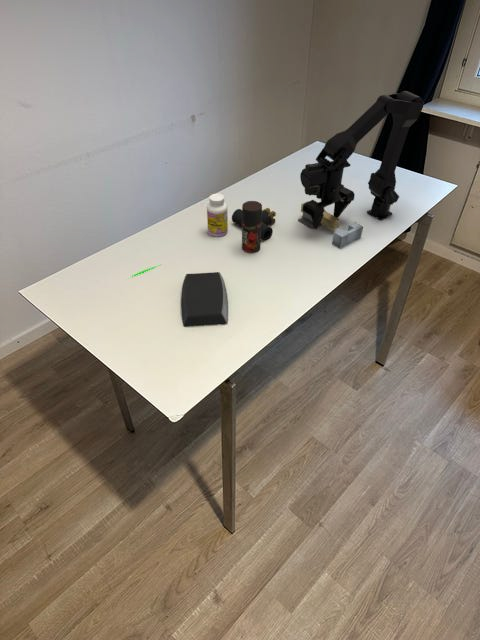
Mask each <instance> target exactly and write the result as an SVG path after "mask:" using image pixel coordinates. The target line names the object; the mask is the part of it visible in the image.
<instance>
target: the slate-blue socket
mask: <svg viewBox="0 0 480 640" xmlns="http://www.w3.org/2000/svg"><path fill="white" fill-rule="evenodd" d="M363 229H364V225H361V224H360V223H358V222H357V221H353V222H352V223H350V224H348V226H347V231H345V230H343V229H342V228H340V229H337V230H334V232H333V236H332V242H331V244H332V246H334V247H336V248H338V249H340V250H341V249H342V248H345V247H346V246H349V245H351V244H352V243H355V241H358V240H360V239H361V238H362V233H363Z"/></svg>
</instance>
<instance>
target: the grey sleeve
mask: <svg viewBox="0 0 480 640" xmlns="http://www.w3.org/2000/svg"><path fill="white" fill-rule="evenodd" d="M324 211H326V210H325V209H324ZM297 222H299V223H301V224H303V225H304V226H306V227H307V228H308V229H311V230H313V229H315V228H314V225H313V221H312V218H311V215H309V214H307V213H306V212H304V211H303V213H302V217H299V218H298V219H297ZM320 226H323V225H322V224H321V223H320V225H319V227H320Z"/></svg>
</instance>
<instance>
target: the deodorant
mask: <svg viewBox="0 0 480 640" xmlns="http://www.w3.org/2000/svg"><path fill="white" fill-rule="evenodd" d="M241 210H242V227H241V249H242V251H244V252H245V253H247V254H256V253H258V252H259V251H261V242H262V240H261V221H262V210H263V205H262V202H260V201H256V200H248V201H245V202H243V203H242V207H241Z"/></svg>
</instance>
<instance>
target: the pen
mask: <svg viewBox="0 0 480 640" xmlns="http://www.w3.org/2000/svg"><path fill="white" fill-rule="evenodd" d="M161 265H163V264H160V265H159V264H158V265H155V266H153V267H149V268H146V269H144V270H142V271H138V272H137V273H134V274H133V275H131V276H132V278H134V277H133V276H135V277H137V276H139V275H138V274H140V275H141V273H142V274H145V273H147V272H149V271H151V270H154V269H155V267H156V268H157V267H159V266H161ZM150 269H151V270H150ZM148 270H149V271H148ZM146 271H147V272H146ZM144 272H145V273H144ZM136 275H137V276H136Z"/></svg>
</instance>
